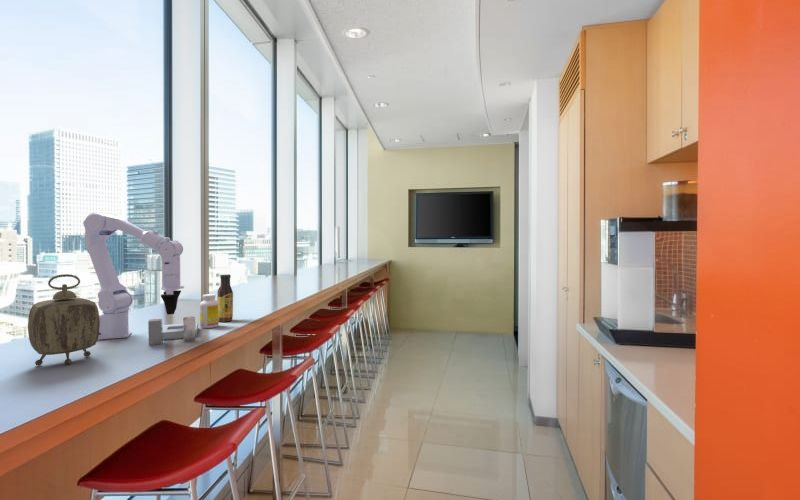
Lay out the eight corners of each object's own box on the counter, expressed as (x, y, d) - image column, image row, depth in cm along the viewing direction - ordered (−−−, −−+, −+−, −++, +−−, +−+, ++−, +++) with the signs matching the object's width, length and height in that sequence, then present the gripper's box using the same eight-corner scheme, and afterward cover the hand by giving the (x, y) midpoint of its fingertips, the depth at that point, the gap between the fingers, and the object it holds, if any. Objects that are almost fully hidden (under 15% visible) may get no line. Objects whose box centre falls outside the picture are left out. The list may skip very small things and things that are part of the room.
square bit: (148, 345, 131) (148, 321, 130) (150, 343, 134) (149, 319, 134) (161, 344, 132) (161, 320, 132) (162, 341, 135) (162, 318, 135)
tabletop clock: (93, 354, 120) (92, 272, 120) (102, 360, 115) (100, 273, 114) (28, 366, 109) (26, 275, 108) (34, 373, 103) (32, 277, 103)
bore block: (150, 340, 137) (150, 333, 137) (156, 332, 149) (156, 325, 149) (196, 336, 143) (196, 329, 143) (198, 328, 155) (197, 322, 155)
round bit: (183, 342, 135) (182, 318, 135) (183, 339, 138) (183, 317, 138) (195, 341, 136) (194, 318, 136) (195, 338, 140) (195, 316, 139)
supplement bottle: (221, 325, 162) (221, 293, 161) (212, 328, 155) (212, 296, 155) (206, 324, 162) (206, 293, 162) (196, 328, 156) (196, 295, 155)
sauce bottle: (226, 322, 167) (226, 275, 166) (213, 322, 168) (213, 275, 167) (236, 319, 173) (236, 274, 172) (223, 319, 174) (223, 273, 174)
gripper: (182, 275, 138) (183, 314, 138) (184, 272, 151) (185, 308, 151) (159, 276, 135) (159, 316, 135) (163, 273, 148) (163, 309, 148)
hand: (171, 312), depth 143 cm, fingers open, 7 cm apart
